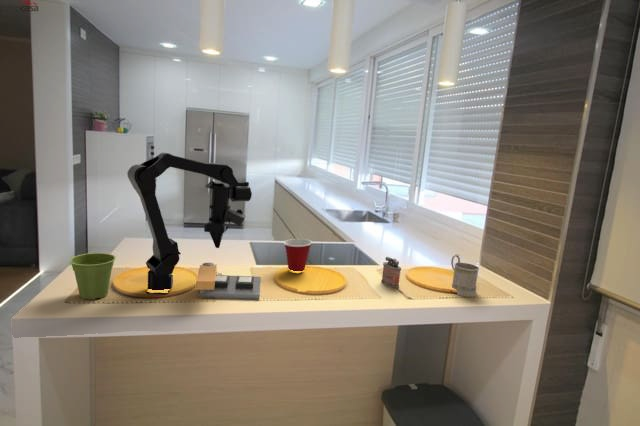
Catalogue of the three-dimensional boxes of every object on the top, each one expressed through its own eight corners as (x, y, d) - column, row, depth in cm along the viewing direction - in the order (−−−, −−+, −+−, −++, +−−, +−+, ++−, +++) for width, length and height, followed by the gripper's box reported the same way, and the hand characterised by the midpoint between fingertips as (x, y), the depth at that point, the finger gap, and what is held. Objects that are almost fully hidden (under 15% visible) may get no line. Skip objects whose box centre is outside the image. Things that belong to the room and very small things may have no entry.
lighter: (401, 287, 150) (404, 261, 149) (394, 289, 148) (397, 262, 147) (385, 280, 157) (388, 255, 155) (379, 281, 155) (381, 255, 153)
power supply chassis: (198, 297, 127) (199, 282, 126) (207, 278, 143) (207, 265, 142) (259, 299, 129) (260, 284, 128) (260, 280, 145) (261, 267, 145)
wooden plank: (200, 269, 136) (200, 262, 135) (216, 270, 137) (216, 262, 136) (196, 289, 119) (196, 281, 118) (214, 289, 120) (214, 281, 119)
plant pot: (73, 289, 125) (72, 253, 123) (117, 287, 129) (117, 252, 127) (66, 305, 114) (65, 265, 112) (114, 301, 119) (114, 263, 117)
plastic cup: (281, 266, 164) (283, 236, 162) (308, 267, 165) (310, 238, 163) (281, 275, 153) (283, 243, 151) (310, 276, 154) (313, 245, 152)
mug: (483, 296, 148) (488, 264, 146) (458, 296, 146) (463, 263, 144) (460, 282, 162) (464, 252, 160) (437, 282, 160) (441, 252, 158)
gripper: (241, 208, 129) (238, 256, 132) (247, 200, 147) (244, 242, 150) (205, 205, 128) (202, 254, 131) (215, 197, 146) (213, 240, 149)
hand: (217, 247), depth 140 cm, fingers closed
